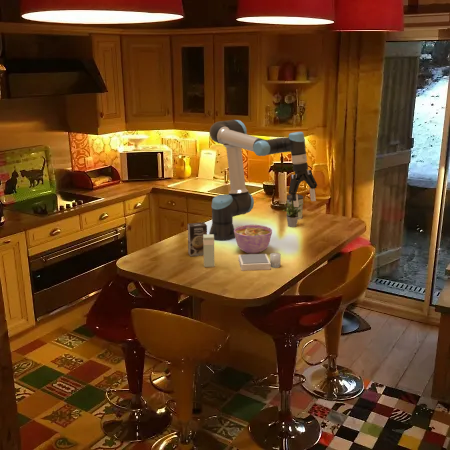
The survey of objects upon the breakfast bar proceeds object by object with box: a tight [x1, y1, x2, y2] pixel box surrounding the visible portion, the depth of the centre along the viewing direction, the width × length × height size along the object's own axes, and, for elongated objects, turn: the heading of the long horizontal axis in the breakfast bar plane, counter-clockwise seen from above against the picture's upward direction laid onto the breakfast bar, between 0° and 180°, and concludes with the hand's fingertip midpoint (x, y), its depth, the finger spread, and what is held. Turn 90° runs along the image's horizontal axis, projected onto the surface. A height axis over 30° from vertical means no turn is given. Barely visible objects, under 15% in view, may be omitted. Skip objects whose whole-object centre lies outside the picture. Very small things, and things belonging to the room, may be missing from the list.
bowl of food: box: [234, 224, 273, 254], centre depth 281 cm, size 20×20×12 cm
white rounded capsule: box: [269, 252, 282, 269], centre depth 261 cm, size 5×5×6 cm
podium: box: [238, 253, 272, 272], centre depth 263 cm, size 14×14×3 cm
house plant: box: [282, 200, 304, 228], centre depth 322 cm, size 14×14×16 cm
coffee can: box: [286, 194, 304, 220], centre depth 342 cm, size 10×10×14 cm
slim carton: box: [203, 233, 216, 268], centre depth 261 cm, size 5×5×15 cm
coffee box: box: [187, 222, 208, 257], centre depth 277 cm, size 9×6×16 cm
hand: (305, 203), depth 276 cm, fingers open, 13 cm apart
